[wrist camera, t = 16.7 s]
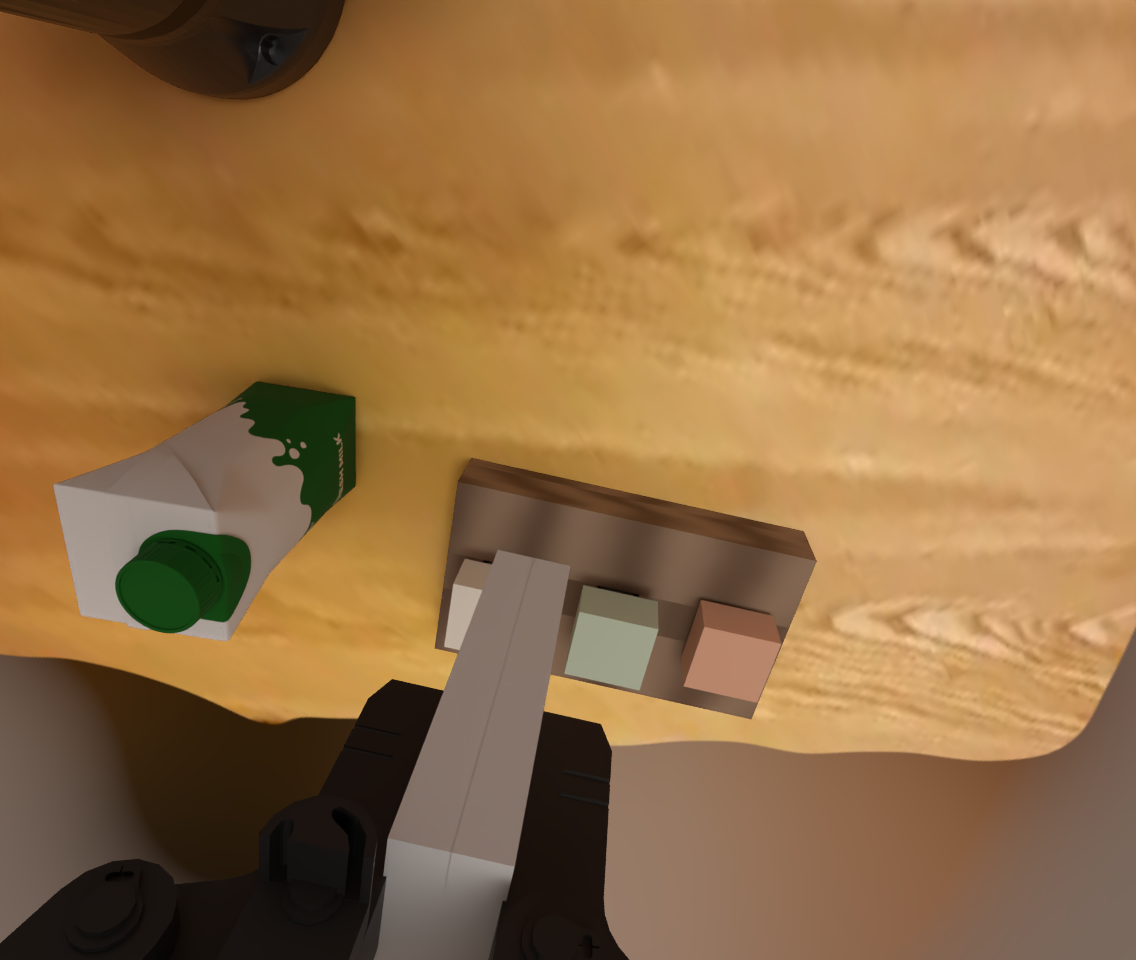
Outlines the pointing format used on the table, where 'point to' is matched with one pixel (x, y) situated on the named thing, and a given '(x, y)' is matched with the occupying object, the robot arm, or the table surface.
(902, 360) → the table surface
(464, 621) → the cream key
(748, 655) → the terracotta key
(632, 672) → the sage key
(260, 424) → the milk carton
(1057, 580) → the table surface
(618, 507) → the key panel
